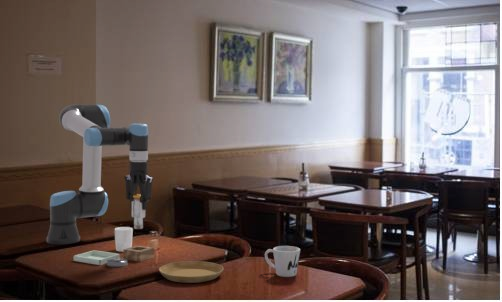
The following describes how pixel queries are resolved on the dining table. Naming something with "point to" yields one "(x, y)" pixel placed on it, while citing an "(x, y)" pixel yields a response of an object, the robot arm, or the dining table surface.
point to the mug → (284, 260)
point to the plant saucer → (191, 271)
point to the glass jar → (137, 212)
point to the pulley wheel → (117, 262)
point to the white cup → (123, 238)
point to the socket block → (138, 253)
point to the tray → (95, 257)
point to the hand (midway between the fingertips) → (138, 216)
